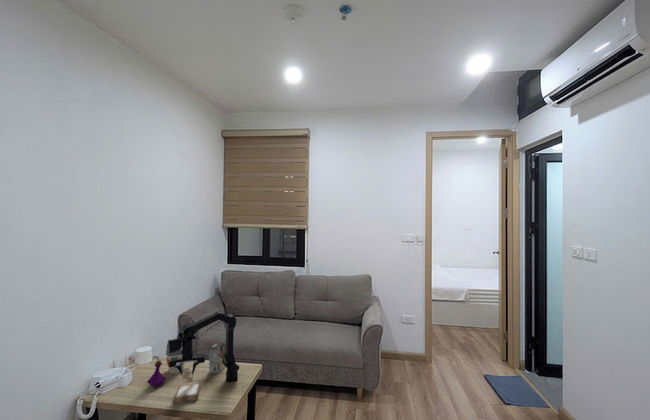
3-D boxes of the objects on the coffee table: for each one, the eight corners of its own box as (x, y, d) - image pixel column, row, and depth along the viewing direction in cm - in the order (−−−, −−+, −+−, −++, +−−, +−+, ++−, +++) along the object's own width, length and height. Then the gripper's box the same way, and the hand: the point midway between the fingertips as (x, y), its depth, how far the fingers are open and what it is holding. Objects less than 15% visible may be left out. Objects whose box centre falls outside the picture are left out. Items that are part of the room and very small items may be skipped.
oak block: (193, 377, 176) (193, 366, 176) (192, 381, 172) (191, 371, 172) (184, 378, 175) (183, 368, 175) (182, 383, 170) (182, 372, 170)
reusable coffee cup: (181, 375, 195) (181, 351, 195) (162, 375, 195) (161, 351, 196) (190, 365, 208) (190, 343, 208) (172, 365, 208) (172, 343, 208)
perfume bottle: (166, 383, 186) (166, 354, 186) (155, 390, 179) (155, 359, 179) (158, 380, 189) (158, 351, 189) (147, 387, 182) (146, 357, 182)
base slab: (200, 388, 180) (200, 382, 180) (197, 399, 169) (197, 394, 169) (178, 391, 177) (178, 386, 177) (174, 403, 166) (174, 398, 166)
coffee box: (216, 365, 207) (216, 341, 207) (225, 366, 206) (225, 342, 206) (209, 372, 198) (208, 347, 198) (217, 373, 197) (217, 348, 197)
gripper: (206, 340, 184) (206, 365, 183) (172, 344, 179) (173, 370, 178) (204, 347, 173) (204, 375, 173) (168, 352, 168) (168, 380, 168)
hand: (187, 375), depth 173 cm, fingers closed on oak block, 5 cm apart
